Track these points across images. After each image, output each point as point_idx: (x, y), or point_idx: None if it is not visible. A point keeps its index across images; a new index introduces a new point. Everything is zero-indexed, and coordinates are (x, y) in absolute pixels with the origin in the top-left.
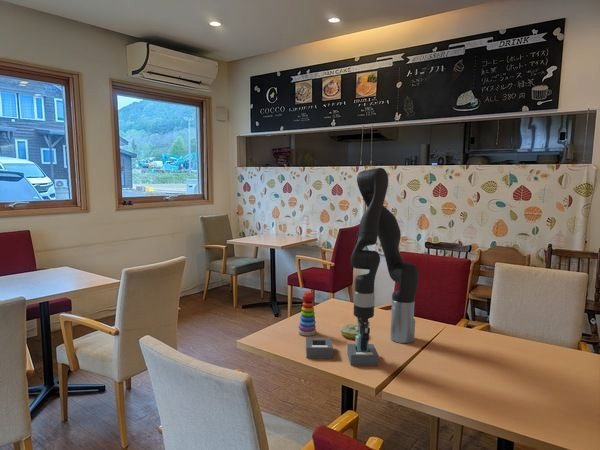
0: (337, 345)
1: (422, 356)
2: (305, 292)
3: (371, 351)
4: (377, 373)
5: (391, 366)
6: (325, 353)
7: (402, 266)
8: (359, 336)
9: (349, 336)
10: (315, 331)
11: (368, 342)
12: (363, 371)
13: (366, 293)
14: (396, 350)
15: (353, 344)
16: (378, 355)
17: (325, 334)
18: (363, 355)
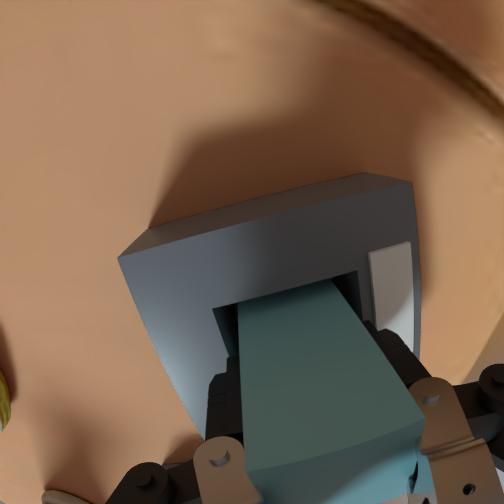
0: (118, 441)
1: None
2: None
3: (333, 261)
4: (463, 181)
5: (348, 69)
6: None
7: None
8: (406, 483)
9: (6, 396)
10: (65, 501)
11: (381, 351)
12: (449, 269)
13: None
14: (35, 60)
15: (203, 422)
16: (410, 182)
17: (40, 465)
18: (419, 319)
